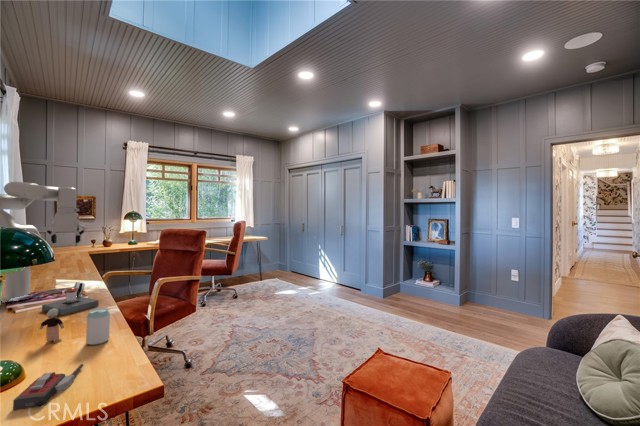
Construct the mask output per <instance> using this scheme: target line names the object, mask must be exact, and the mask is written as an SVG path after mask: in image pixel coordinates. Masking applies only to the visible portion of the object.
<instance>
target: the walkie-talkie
mask: <svg viewBox="0 0 640 426" xmlns="http://www.w3.org/2000/svg"><path fill="white" fill-rule="evenodd" d="M83 367H84V364H83V363H81V364H79V366H78V367H77V368H76V369H74V370H73V372H72V373H71V374H69V375H66V374H65V373H56V372H55V371H53V372H45V373H43V374H42V375H41V376H40V377H37V378H36V379H35V380H34V381H33V382H32V383H30V384H29V386H27V388H25V389H24V390H23V391H22V392H21V393H20V394H19V395H17V396H16V397H15V398H14V399H12V400H13V402H12V404H13V405H12V406H13V408H12V409H13V411H21V410H26V409H34V408H41V407H43V406H45V405H46V404H47V403H48V402H49V400H50V399H52V398H53V396H54V395H58V394H59V393H61V392H63V391H66V390H67V389H68V388H69V387H70V385H72V384H73V383H74V382H75V376H76V375H77V374H78V373H79V372H80V370H81V369H82V368H83ZM45 403H46V404H45ZM44 404H45V405H44ZM42 405H43V406H42Z"/></svg>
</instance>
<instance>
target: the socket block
mask: <svg viewBox="0 0 640 426" xmlns="http://www.w3.org/2000/svg"><path fill="white" fill-rule="evenodd" d="M96 307H99V299H94V298H89V297H85V296H81V297H76V303H74V304H70V305H67V304H66V299H63V300H58V301H53V302H49V303H45V304H41V312H44V313H48V311H50V310H51V309H58V313H57V316H61V317H62V316H63V317H64V316H67V315H70V314H74V313H77V312H81V311H85V310H88V309H92V308H96Z"/></svg>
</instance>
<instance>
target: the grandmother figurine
mask: <svg viewBox="0 0 640 426" xmlns="http://www.w3.org/2000/svg"><path fill="white" fill-rule="evenodd" d="M57 313H58V309H51V310H50V311H48V312H46V314H45V316H46V317H48V318H47V319H45V320H44V321H41V323H40V326H39V327H38V329H39V330H42V329H43V328H44V327H45V326H46V333H45V334H46V341H47V342H45V345H48V344H58V343H60V342H62V338H60V330H59V327H60V329H64V328H65V325H64V322H63V321H62V320H61V319H60V318H58V315H57Z"/></svg>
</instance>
